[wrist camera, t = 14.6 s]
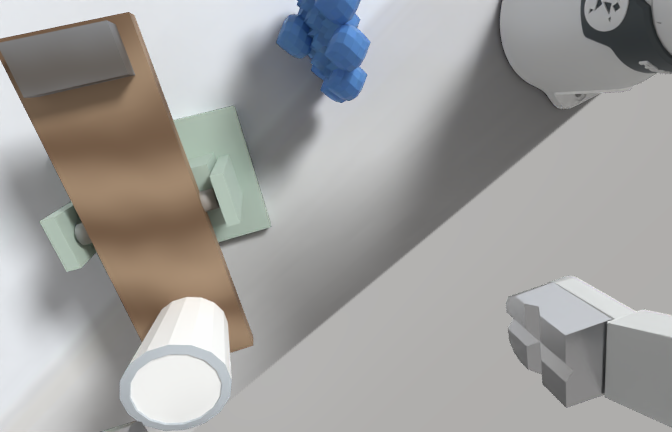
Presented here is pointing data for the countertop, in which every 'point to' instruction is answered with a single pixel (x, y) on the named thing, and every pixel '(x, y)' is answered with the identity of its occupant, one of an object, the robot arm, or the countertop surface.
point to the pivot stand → (209, 172)
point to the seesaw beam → (123, 166)
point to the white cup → (180, 367)
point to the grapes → (328, 44)
